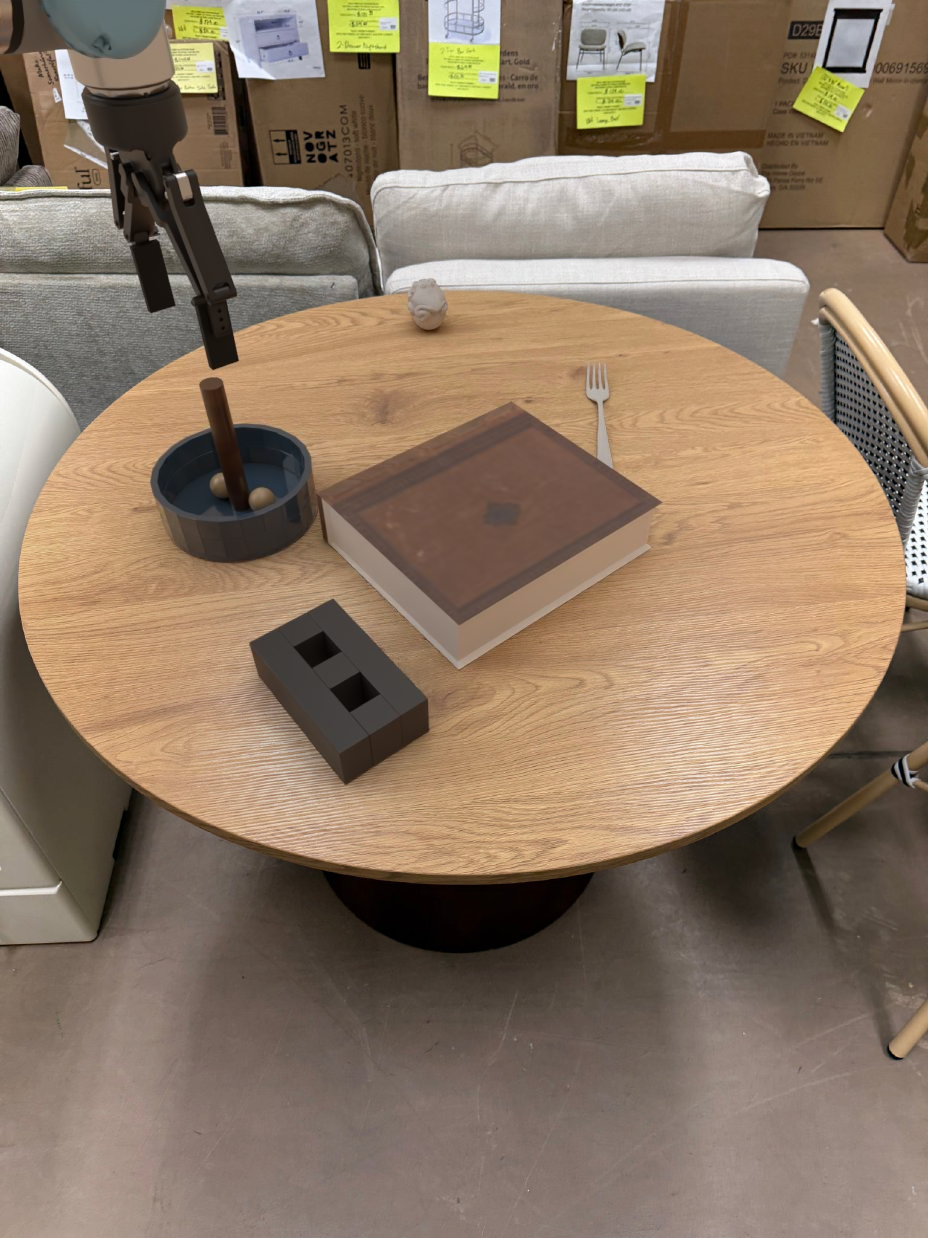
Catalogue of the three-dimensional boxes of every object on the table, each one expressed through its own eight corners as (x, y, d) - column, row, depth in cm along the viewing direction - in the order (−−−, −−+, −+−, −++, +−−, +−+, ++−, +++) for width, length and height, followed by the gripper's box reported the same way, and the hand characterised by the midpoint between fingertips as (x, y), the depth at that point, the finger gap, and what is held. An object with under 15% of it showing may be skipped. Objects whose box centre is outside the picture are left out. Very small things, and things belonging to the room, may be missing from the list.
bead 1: (215, 506, 94) (201, 483, 93) (223, 497, 97) (209, 474, 96) (237, 496, 94) (222, 473, 92) (244, 487, 96) (230, 464, 95)
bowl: (208, 585, 87) (195, 544, 82) (139, 502, 96) (124, 460, 92) (346, 518, 94) (341, 477, 90) (271, 447, 103) (262, 406, 99)
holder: (345, 785, 71) (339, 754, 67) (258, 675, 79) (248, 642, 75) (429, 730, 75) (428, 698, 71) (338, 631, 83) (333, 597, 79)
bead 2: (239, 502, 93) (247, 499, 90) (256, 483, 94) (264, 480, 91) (259, 520, 94) (268, 517, 92) (275, 501, 95) (284, 498, 93)
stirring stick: (237, 514, 93) (205, 392, 82) (227, 503, 95) (195, 381, 83) (255, 506, 94) (227, 384, 83) (246, 495, 96) (216, 374, 84)
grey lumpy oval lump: (436, 312, 127) (435, 268, 122) (456, 332, 123) (456, 287, 118) (400, 320, 125) (398, 276, 120) (419, 341, 121) (418, 296, 116)
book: (323, 538, 92) (315, 492, 87) (508, 445, 104) (511, 401, 99) (458, 669, 79) (458, 625, 75) (651, 547, 91) (663, 502, 87)
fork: (592, 478, 100) (594, 466, 98) (584, 372, 116) (585, 360, 115) (619, 479, 100) (621, 467, 98) (606, 372, 116) (608, 361, 115)
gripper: (248, 114, 59) (290, 376, 75) (112, 41, 72) (172, 277, 88) (150, 135, 56) (215, 404, 71) (26, 54, 69) (104, 297, 84)
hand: (191, 335), depth 80 cm, fingers open, 13 cm apart
